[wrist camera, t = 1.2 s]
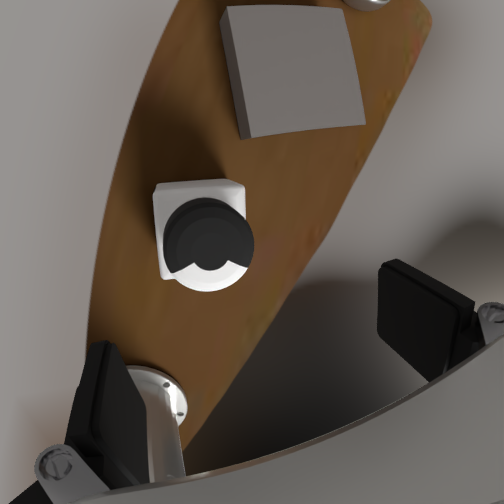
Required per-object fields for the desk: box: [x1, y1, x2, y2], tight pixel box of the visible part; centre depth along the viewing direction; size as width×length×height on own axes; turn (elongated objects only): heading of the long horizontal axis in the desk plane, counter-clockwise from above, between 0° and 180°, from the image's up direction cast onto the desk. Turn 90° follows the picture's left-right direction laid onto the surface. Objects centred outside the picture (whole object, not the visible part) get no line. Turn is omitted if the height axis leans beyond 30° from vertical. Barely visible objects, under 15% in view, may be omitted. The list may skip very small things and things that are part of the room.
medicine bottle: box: [153, 179, 254, 291], centre depth 25 cm, size 7×7×12 cm
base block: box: [219, 5, 366, 140], centre depth 27 cm, size 13×12×4 cm
